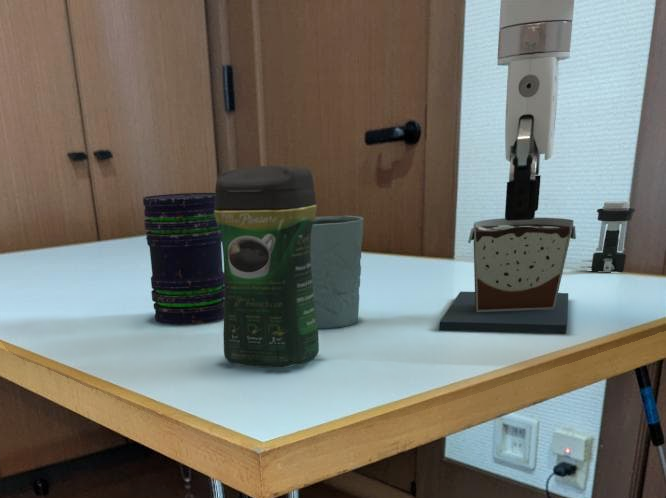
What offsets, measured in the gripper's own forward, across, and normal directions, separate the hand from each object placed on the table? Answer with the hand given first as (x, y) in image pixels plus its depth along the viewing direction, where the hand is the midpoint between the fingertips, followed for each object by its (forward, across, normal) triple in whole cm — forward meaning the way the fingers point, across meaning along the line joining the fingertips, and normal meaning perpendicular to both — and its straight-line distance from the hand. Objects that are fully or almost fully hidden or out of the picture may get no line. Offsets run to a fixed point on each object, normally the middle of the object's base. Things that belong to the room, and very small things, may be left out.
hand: (521, 215), depth 94 cm
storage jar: (+11, -7, +41) cm, 43 cm away
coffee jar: (+11, -27, +23) cm, 37 cm away
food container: (+11, 0, +1) cm, 11 cm away
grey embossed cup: (+11, -7, +23) cm, 26 cm away
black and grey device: (+12, +36, -11) cm, 39 cm away
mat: (+12, 0, +1) cm, 12 cm away
